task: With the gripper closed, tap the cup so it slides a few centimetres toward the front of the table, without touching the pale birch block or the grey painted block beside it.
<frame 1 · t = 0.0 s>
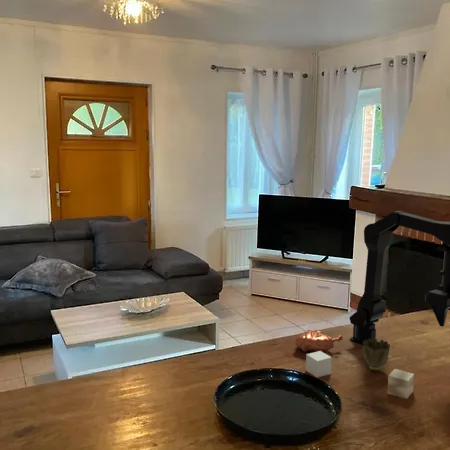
grey block: (318, 372, 142), on the table
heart: (317, 350, 157), on the table
cup: (374, 370, 143), on the table
birch block: (400, 392, 130), on the table
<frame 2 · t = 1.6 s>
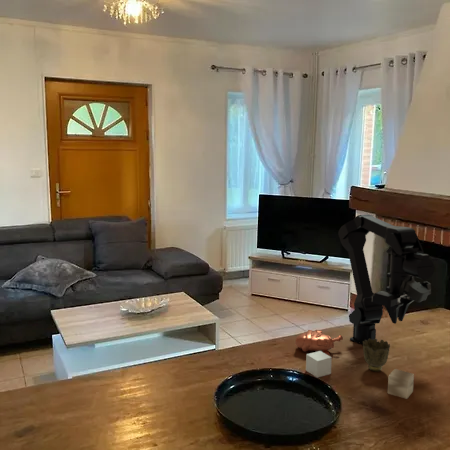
hand: (397, 322, 147), 12 cm above the table, tool pointing down, fingers open, 3 cm apart
nothing on the table moved.
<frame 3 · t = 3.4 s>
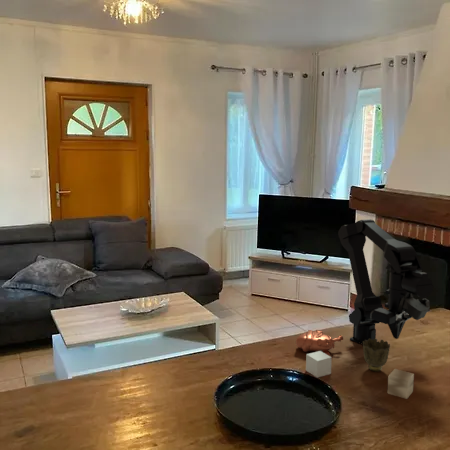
hand: (396, 338, 148), 7 cm above the table, tool pointing down, fingers closed
nothing on the table moved.
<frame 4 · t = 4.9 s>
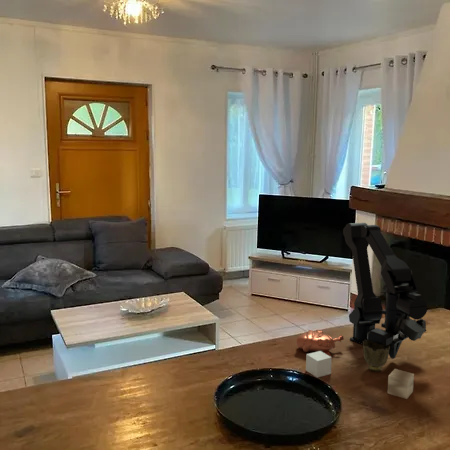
hand: (392, 358, 148), 1 cm above the table, tool pointing down, fingers closed
nothing on the table moved.
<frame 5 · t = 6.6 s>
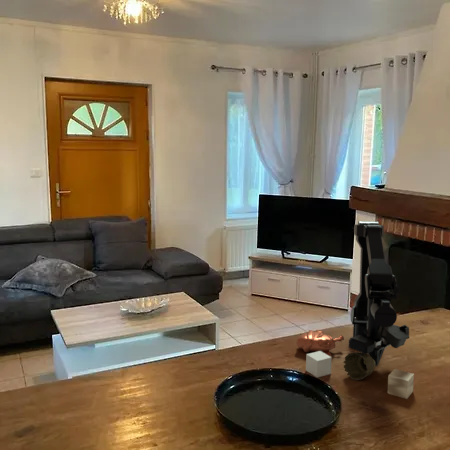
hand: (375, 365, 143), 1 cm above the table, tool pointing down, fingers closed
cup: (371, 362, 142), point 3 cm above the table, touching gripper
everything else where it was.
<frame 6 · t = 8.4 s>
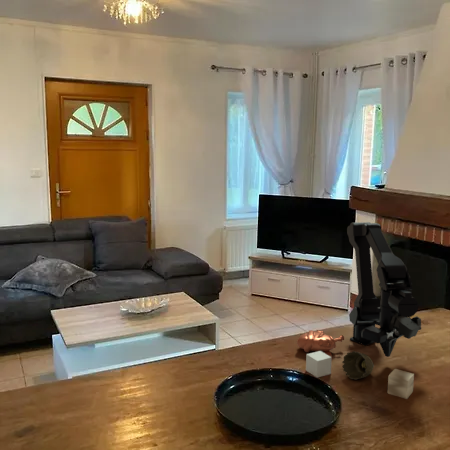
hand: (387, 356, 146), 2 cm above the table, tool pointing down, fingers closed
cup: (369, 365, 142), point 2 cm above the table
everything else where it was.
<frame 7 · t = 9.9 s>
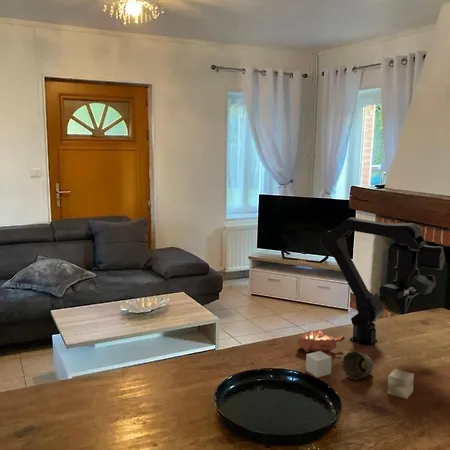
hand: (403, 313, 154), 12 cm above the table, tool pointing down, fingers closed
nothing on the table moved.
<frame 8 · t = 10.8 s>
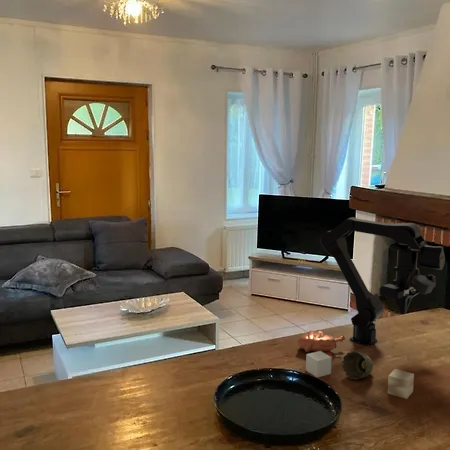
hand: (403, 313, 154), 12 cm above the table, tool pointing down, fingers closed
nothing on the table moved.
at the end: cup inside the target area (3.2 cm from its centre), point 1.8 cm above the table; birch block moved 0.1 cm from its start; grey block moved 0.1 cm from its start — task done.
